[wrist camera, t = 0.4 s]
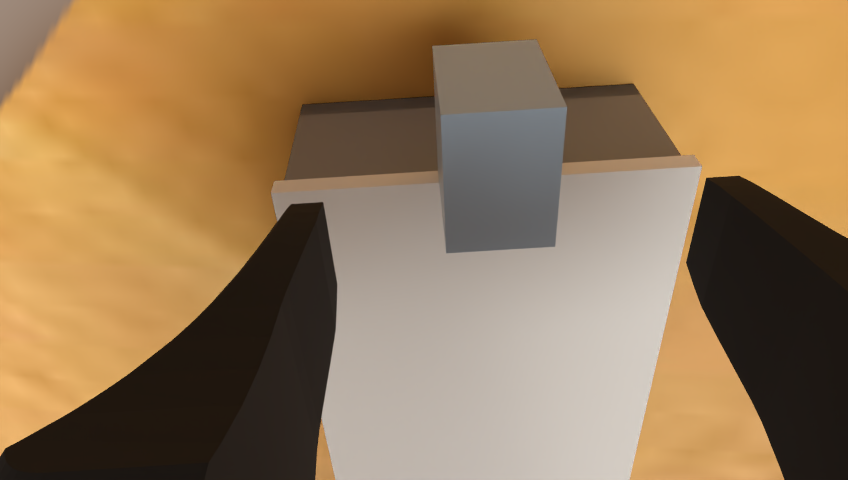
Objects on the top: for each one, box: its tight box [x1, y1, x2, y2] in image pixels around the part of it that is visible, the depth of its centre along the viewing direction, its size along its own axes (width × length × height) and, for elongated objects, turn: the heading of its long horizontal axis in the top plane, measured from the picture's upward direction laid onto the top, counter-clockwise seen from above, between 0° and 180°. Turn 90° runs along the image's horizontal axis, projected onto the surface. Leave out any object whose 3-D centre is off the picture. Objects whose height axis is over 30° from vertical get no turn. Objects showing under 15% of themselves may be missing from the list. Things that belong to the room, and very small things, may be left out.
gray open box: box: [284, 84, 681, 180], centre depth 25 cm, size 14×11×5 cm
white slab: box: [271, 39, 702, 480], centre depth 21 cm, size 18×11×4 cm, turn 3°
